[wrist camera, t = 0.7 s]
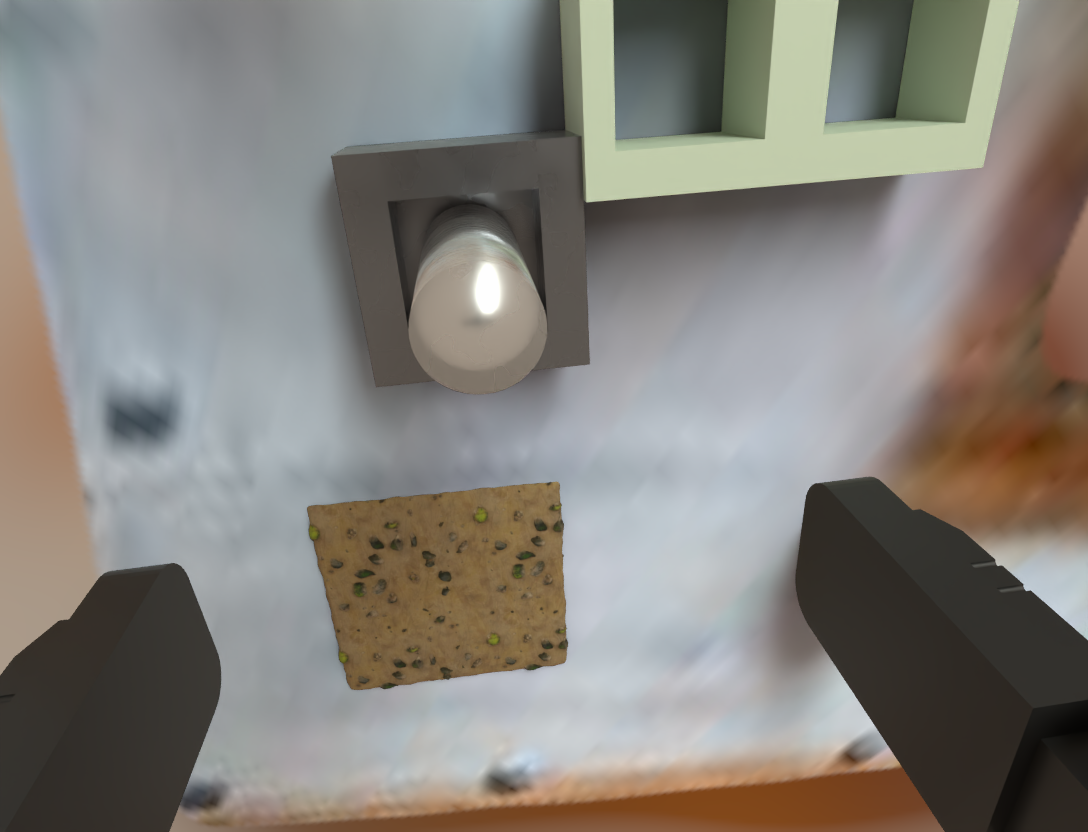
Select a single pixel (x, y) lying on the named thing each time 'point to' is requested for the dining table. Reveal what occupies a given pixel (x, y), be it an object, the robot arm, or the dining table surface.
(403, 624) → the tan flat square slab
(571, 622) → the dining table surface
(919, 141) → the rack
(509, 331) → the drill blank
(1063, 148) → the dining table surface
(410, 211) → the block
